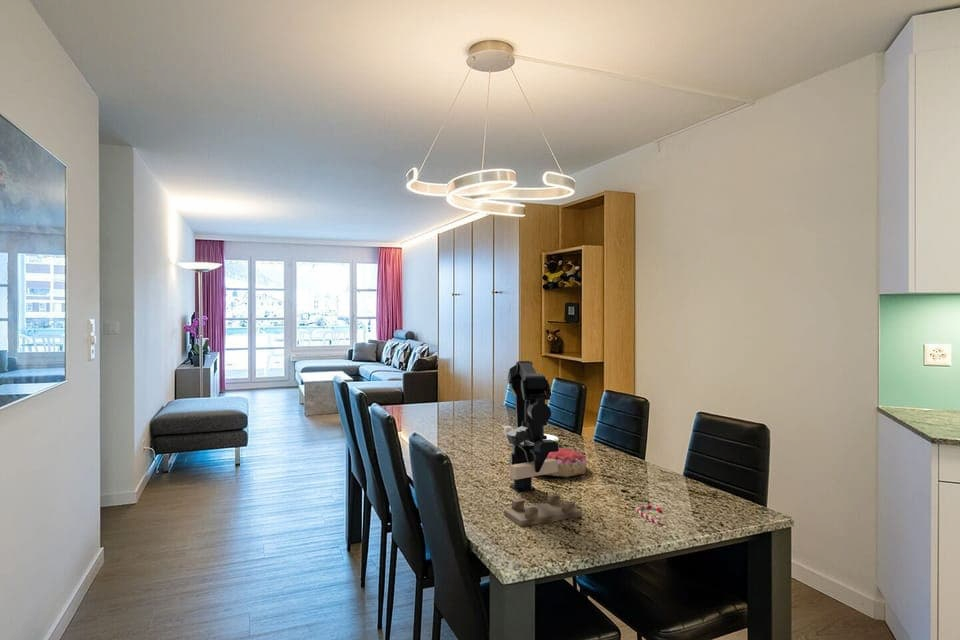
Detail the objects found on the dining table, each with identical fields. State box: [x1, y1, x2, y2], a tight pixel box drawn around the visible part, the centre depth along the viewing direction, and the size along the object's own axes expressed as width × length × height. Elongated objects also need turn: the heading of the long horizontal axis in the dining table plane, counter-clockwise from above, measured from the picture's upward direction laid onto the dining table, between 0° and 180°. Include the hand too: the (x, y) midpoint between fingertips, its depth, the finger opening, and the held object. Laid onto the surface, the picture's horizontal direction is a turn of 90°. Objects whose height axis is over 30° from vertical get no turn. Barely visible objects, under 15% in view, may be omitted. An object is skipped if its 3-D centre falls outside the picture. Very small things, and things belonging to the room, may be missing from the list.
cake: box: [543, 447, 587, 479], centre depth 215 cm, size 25×25×8 cm
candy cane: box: [635, 504, 663, 527], centre depth 166 cm, size 8×1×15 cm
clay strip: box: [509, 458, 558, 480], centre depth 171 cm, size 16×3×4 cm, turn 125°
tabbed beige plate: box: [503, 493, 583, 527], centre depth 166 cm, size 20×10×4 cm, turn 114°
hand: (534, 470), depth 171 cm, fingers closed on clay strip, 3 cm apart
